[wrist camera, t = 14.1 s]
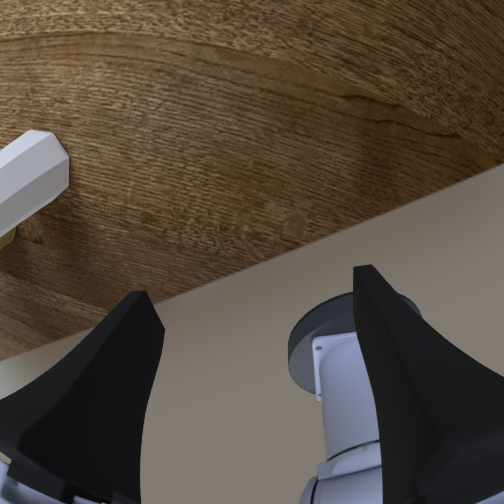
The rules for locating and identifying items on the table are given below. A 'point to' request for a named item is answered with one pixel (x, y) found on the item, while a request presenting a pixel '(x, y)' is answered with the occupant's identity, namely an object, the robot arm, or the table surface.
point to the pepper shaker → (30, 176)
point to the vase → (7, 237)
